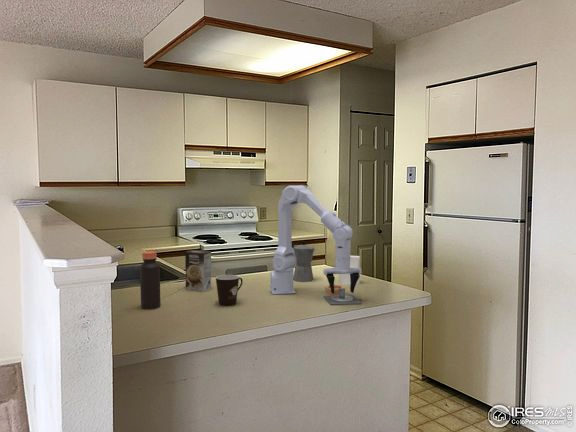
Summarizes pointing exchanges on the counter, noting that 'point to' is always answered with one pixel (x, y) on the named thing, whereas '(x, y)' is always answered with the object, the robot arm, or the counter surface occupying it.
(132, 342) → the counter surface
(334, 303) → the mat
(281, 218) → the robot arm
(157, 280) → the bottle
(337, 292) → the bowl
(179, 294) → the counter surface
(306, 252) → the coffeepot
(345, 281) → the cylinder with rectangular tab
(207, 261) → the coffee box
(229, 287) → the coffee mug
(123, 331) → the counter surface
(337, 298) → the lid
